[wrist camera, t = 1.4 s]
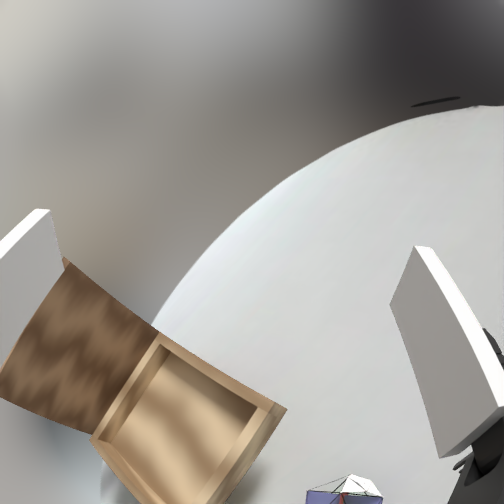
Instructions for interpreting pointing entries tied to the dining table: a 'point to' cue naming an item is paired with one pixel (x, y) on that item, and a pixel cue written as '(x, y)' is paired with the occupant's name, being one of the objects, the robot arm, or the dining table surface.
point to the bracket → (136, 396)
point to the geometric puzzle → (317, 500)
